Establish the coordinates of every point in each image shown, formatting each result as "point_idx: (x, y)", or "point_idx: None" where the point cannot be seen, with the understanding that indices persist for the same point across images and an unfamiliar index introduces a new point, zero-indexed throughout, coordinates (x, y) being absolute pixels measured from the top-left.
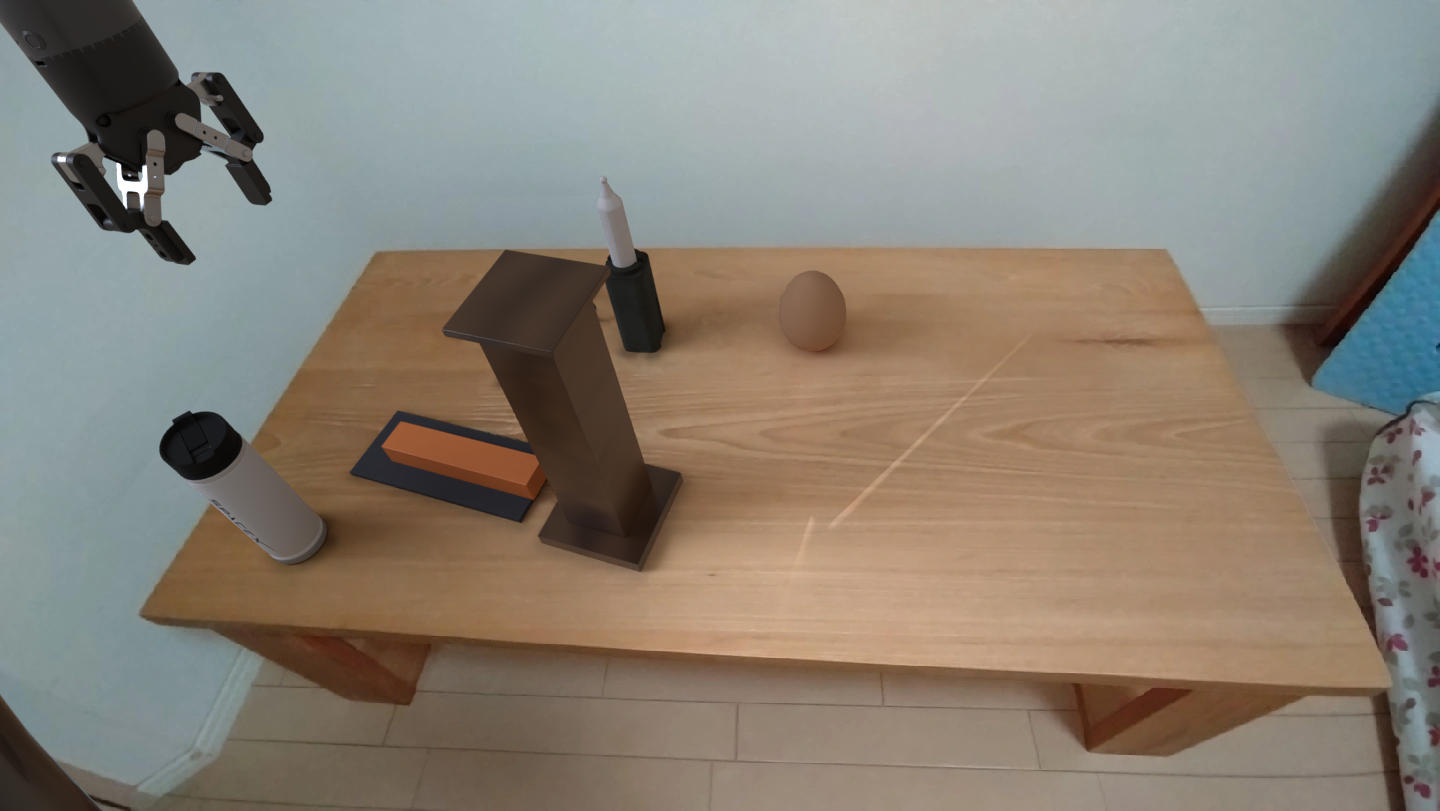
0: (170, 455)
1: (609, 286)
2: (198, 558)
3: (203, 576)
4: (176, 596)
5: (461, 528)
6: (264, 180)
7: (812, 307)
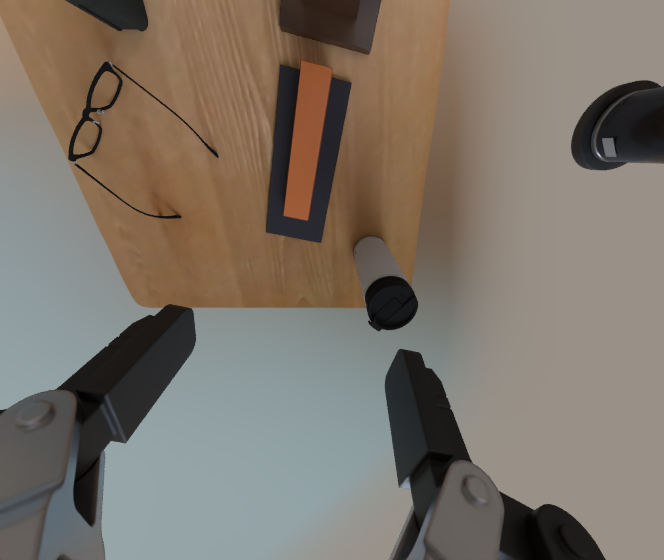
0: (406, 316)
1: None
2: None
3: None
4: None
5: (357, 138)
6: (123, 337)
7: None
